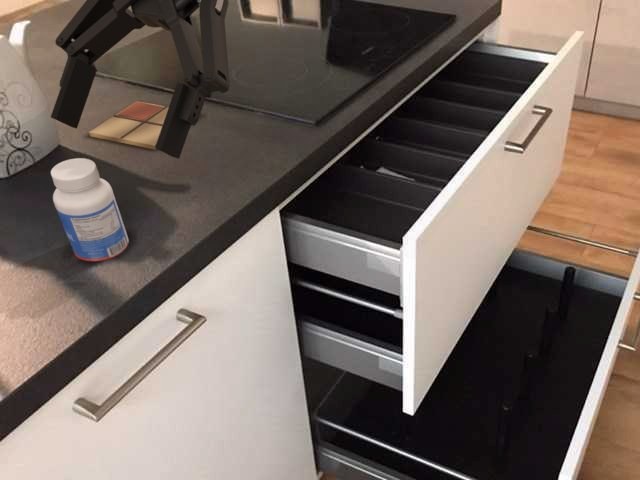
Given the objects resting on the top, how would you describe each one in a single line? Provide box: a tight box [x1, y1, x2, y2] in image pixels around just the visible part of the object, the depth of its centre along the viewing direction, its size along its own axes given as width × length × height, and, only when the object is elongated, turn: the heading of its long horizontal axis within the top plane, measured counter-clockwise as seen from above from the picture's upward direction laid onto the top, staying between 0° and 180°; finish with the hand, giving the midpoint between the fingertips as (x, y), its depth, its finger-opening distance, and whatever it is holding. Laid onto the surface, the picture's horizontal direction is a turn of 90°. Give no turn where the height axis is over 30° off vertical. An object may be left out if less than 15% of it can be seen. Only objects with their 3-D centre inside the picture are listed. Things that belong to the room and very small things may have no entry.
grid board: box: [88, 100, 169, 150], centre depth 88 cm, size 10×10×1 cm
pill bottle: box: [50, 157, 130, 262], centre depth 65 cm, size 6×5×10 cm
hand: (113, 138), depth 65 cm, fingers open, 13 cm apart
